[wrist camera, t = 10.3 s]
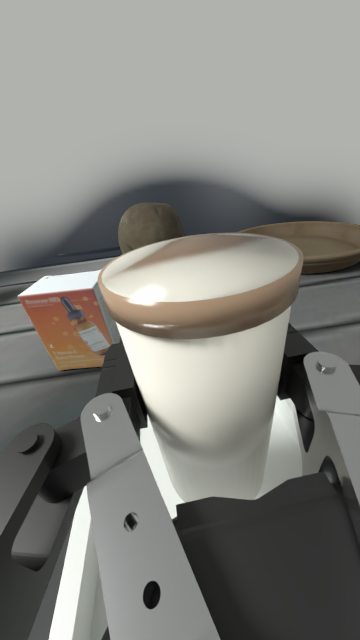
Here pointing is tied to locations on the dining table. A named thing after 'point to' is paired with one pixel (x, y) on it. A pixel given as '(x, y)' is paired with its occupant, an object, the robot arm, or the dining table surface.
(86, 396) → the dining table surface
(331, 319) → the dining table surface
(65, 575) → the tray
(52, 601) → the dining table surface
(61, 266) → the dining table surface
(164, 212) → the cantaloupe
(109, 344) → the small box
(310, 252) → the plant saucer
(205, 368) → the canister
